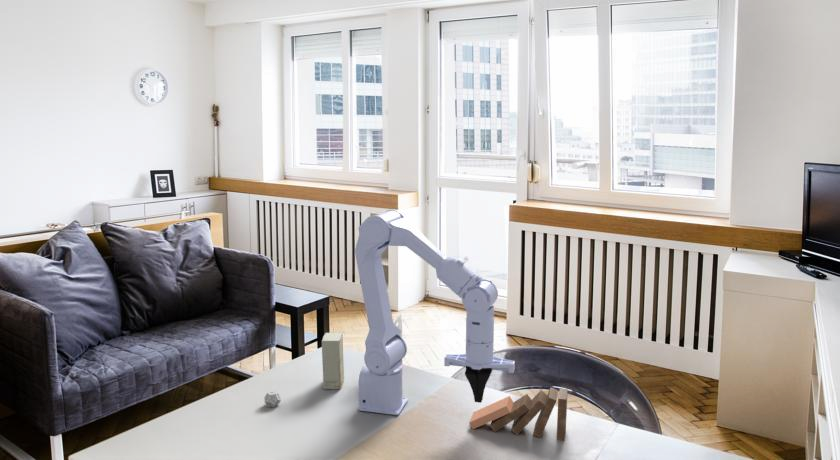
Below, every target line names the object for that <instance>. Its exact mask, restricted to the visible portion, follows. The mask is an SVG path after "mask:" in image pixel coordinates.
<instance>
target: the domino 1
mask: <svg viewBox="0 0 840 460" xmlns="http://www.w3.org/2000/svg"><path fill="white" fill-rule="evenodd" d="M531 401H532V398H531V397H530V396H529V394H528V393H526V394H524V395H523V396H521V397H519V398H518V399H516V400H515V401H513V405H512V409H511V412H510V413H509V414H506V415H504V416H502V417H500V418H497V419H495V420H493V421H491V422H490V424H489V427H490V428H491V429H492V431H493V432H494V433H495V432H497V431H499V430H500V429H502V428H504V427H505V426H507V425H508V424H510V423H511V422H512V423H513V422H514V420H515V419H516V418H518V417H519V416H521V415H523V414H524V413H526V412H527V411H529V409H530V405H531Z"/></svg>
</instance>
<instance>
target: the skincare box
mask: <svg viewBox="0 0 840 460" xmlns="http://www.w3.org/2000/svg"><path fill="white" fill-rule="evenodd" d="M343 342H344V339H343V332H325V333H324V335H323V336H322V340H321V358H322V361H321V362H322V377H323V378H322V381H323V383H322V384H323V389H324V390H341V389H342V388H343V384H344V382H345V381H344V380H345V363H344V361H345V359H344V343H343Z"/></svg>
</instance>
